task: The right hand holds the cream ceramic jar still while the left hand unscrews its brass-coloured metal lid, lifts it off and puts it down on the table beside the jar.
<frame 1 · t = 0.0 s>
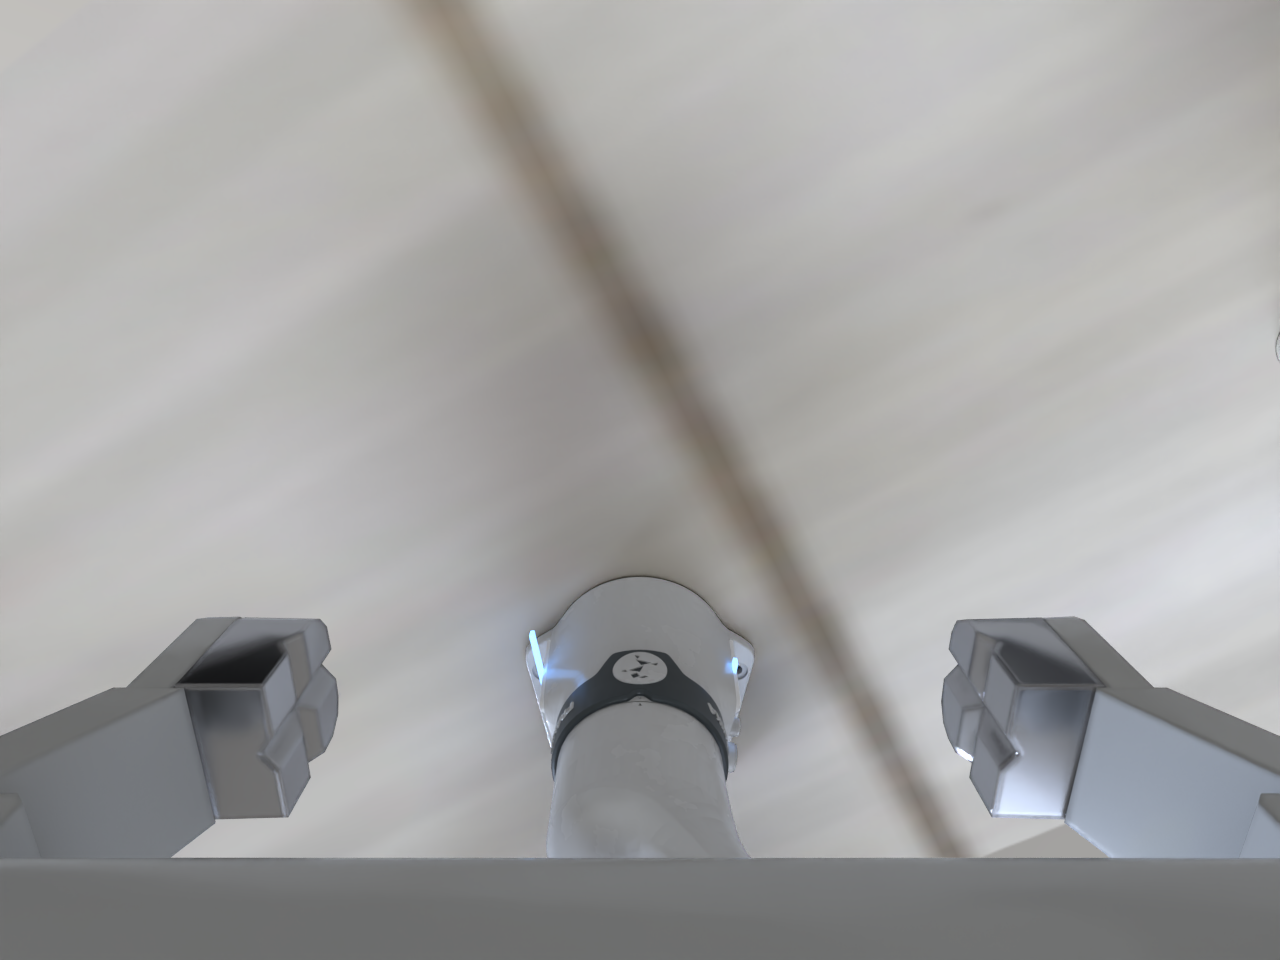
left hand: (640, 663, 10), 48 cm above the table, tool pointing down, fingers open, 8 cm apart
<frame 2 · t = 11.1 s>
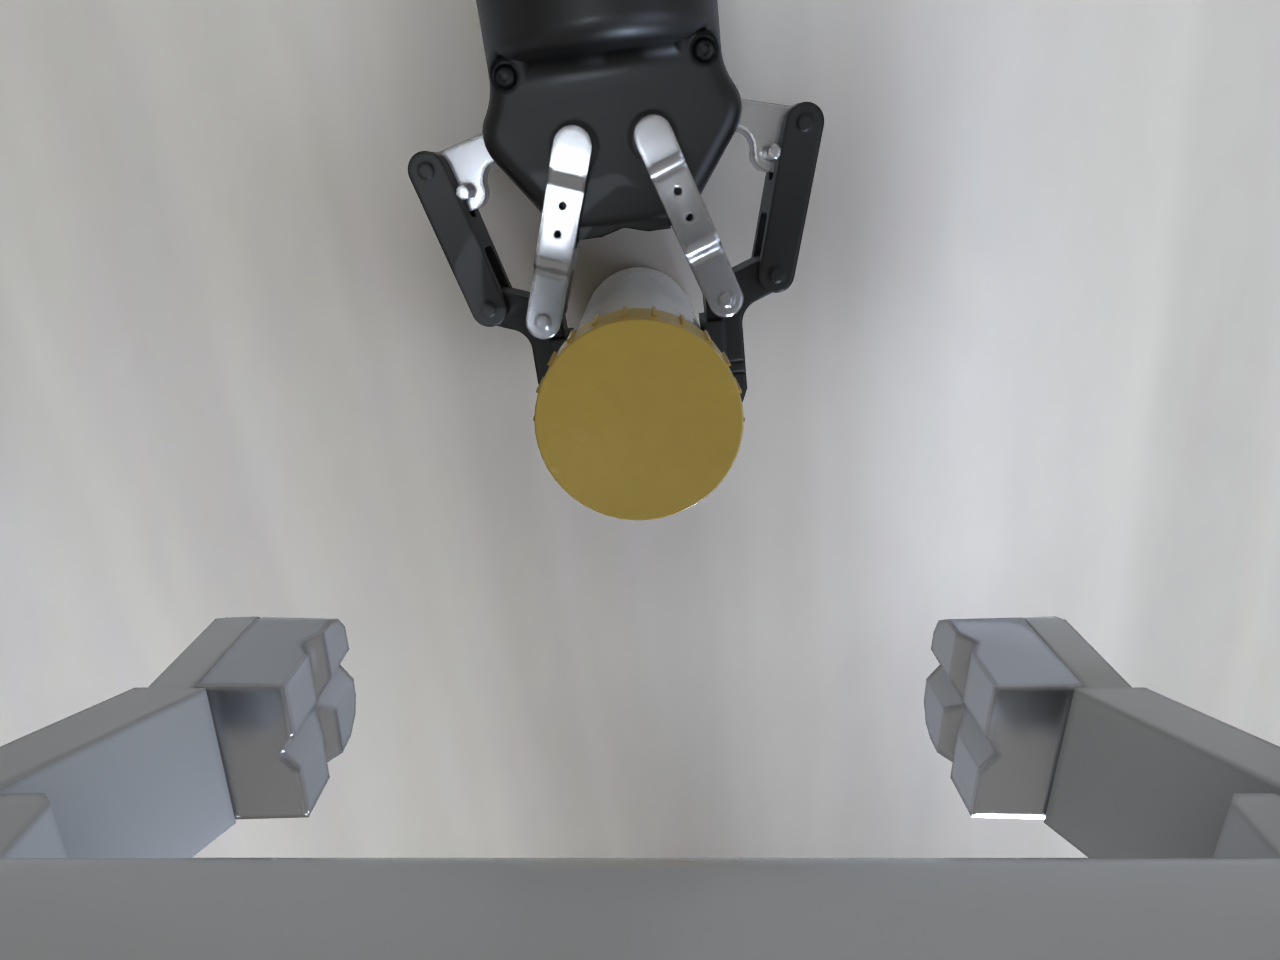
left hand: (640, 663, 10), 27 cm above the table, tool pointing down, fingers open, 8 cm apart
right hand: (648, 420, 30), fingers closed on jar, 4 cm apart
jar: (639, 321, 35), on the table, touching right hand
lid: (639, 420, 21), point 16 cm above the table, screwed on, not yet turned
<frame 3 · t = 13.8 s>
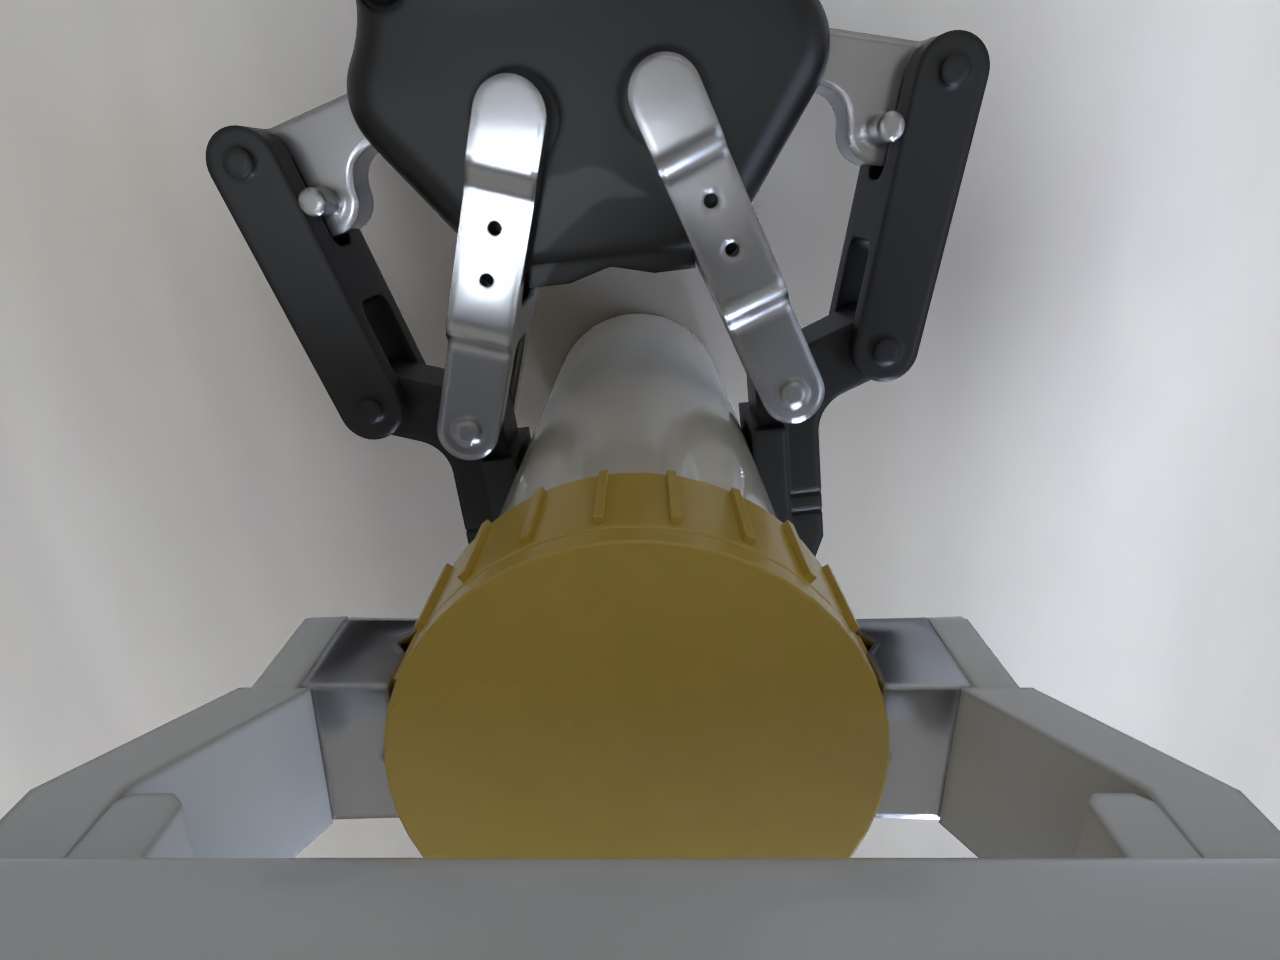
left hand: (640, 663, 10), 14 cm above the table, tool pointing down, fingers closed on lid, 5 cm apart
right hand: (653, 580, 18), fingers closed on jar, 4 cm apart
jar: (638, 394, 23), on the table, touching right hand
lid: (636, 748, 9), point 16 cm above the table, screwed on, not yet turned, touching left hand
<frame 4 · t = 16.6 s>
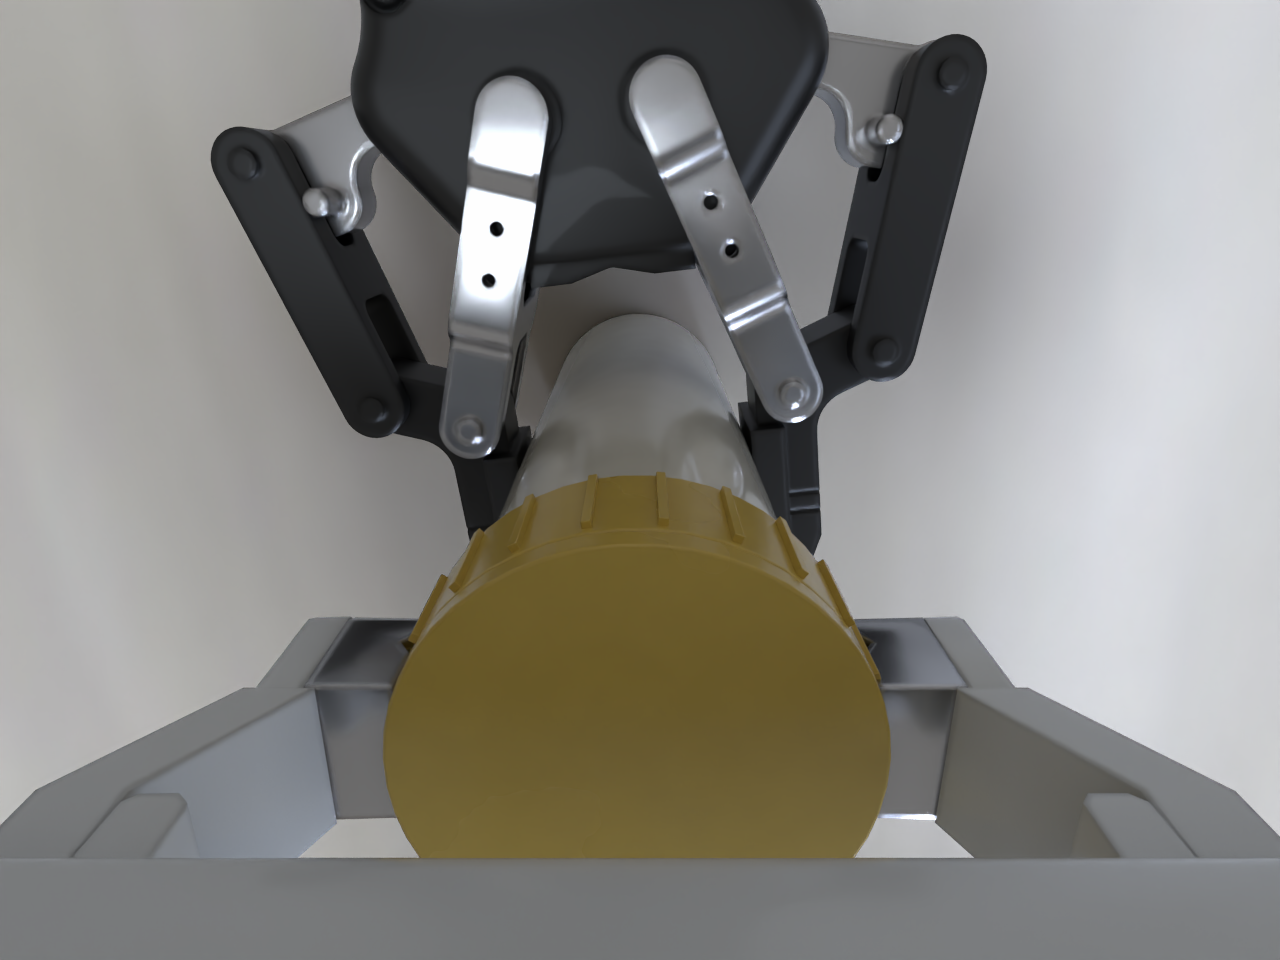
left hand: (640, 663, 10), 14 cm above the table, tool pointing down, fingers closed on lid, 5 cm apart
right hand: (653, 579, 18), fingers closed on jar, 4 cm apart
jar: (638, 394, 24), on the table, touching right hand
lid: (636, 752, 9), point 16 cm above the table, turned 52° so far, risen 0.2 cm, still on its thread, touching left hand
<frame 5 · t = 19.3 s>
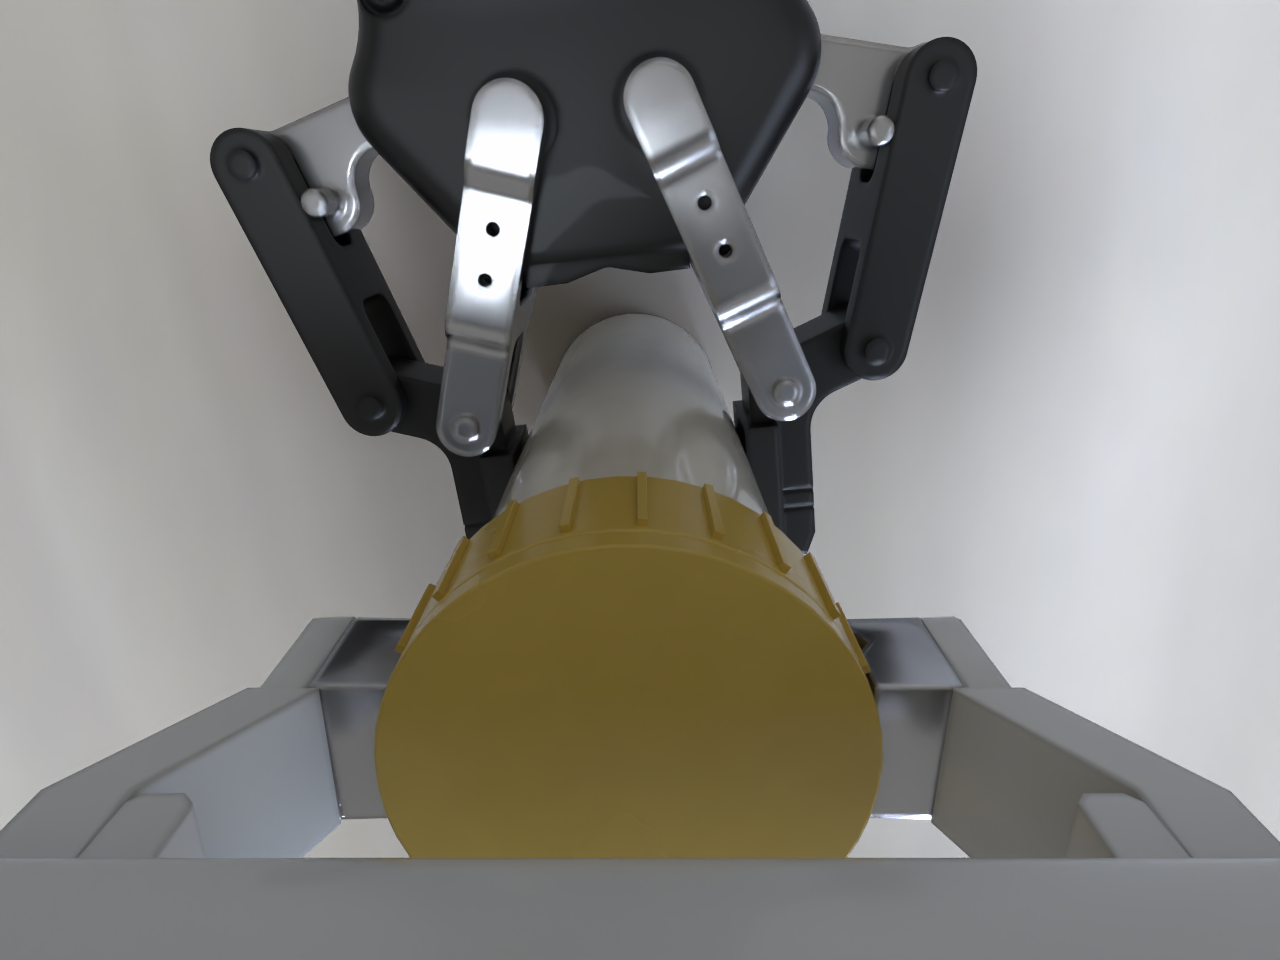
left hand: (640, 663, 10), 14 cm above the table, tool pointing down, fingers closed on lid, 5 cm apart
right hand: (648, 576, 18), fingers closed on jar, 4 cm apart
jar: (635, 393, 24), on the table, touching right hand
lid: (628, 753, 9), point 16 cm above the table, turned 104° so far, risen 0.3 cm, still on its thread, touching left hand
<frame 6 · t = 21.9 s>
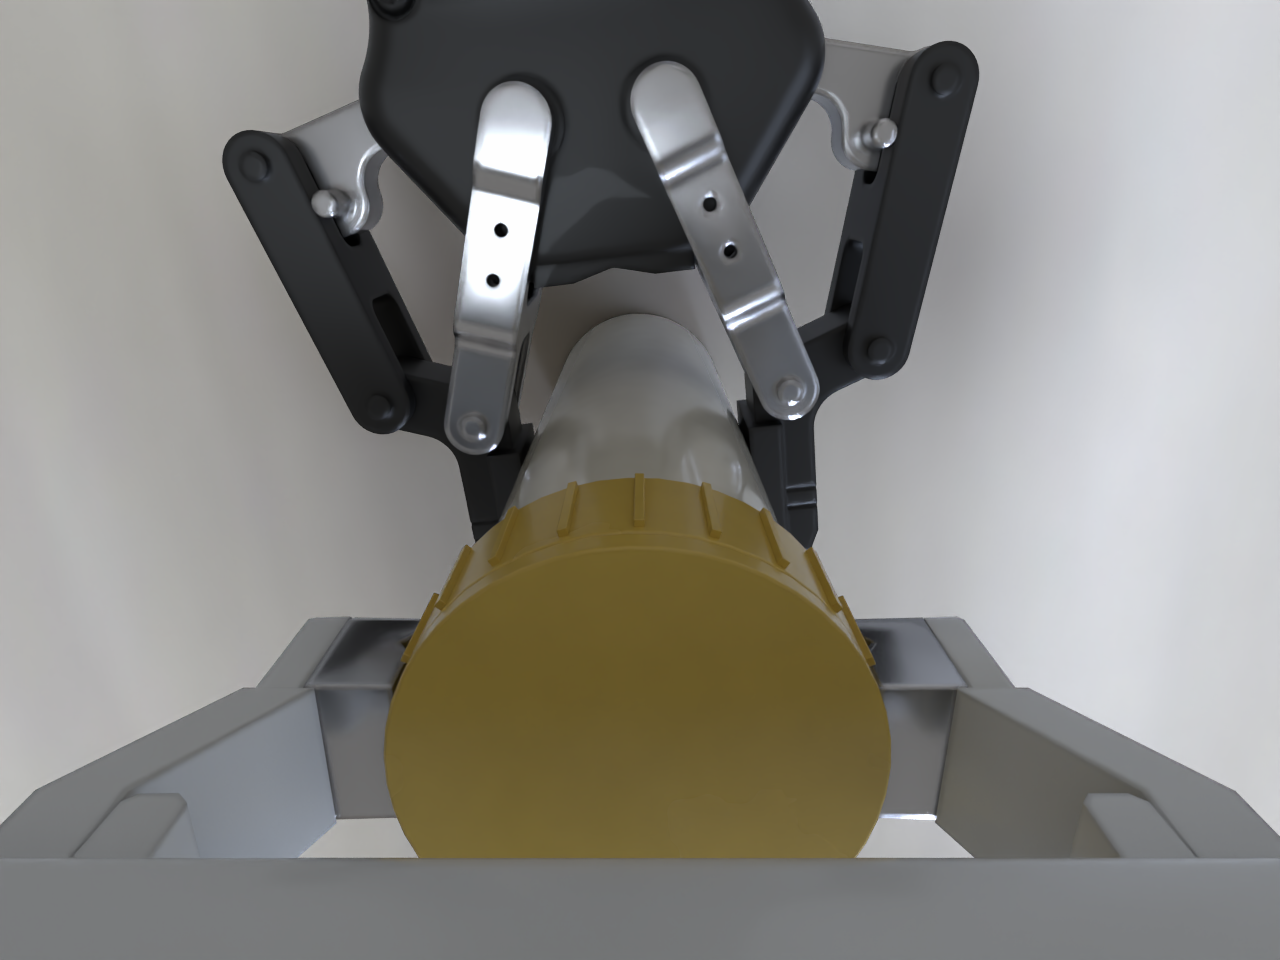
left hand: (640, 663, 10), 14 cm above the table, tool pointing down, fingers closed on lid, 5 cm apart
right hand: (653, 573, 19), fingers closed on jar, 4 cm apart
jar: (639, 393, 24), on the table, touching right hand
lid: (637, 754, 9), point 16 cm above the table, turned 155° so far, risen 0.5 cm, still on its thread, touching left hand
when the left hand's fingers open (2 cm above the table, at t = 27.6 s): lid drops 2 cm, point 2 cm above the table.
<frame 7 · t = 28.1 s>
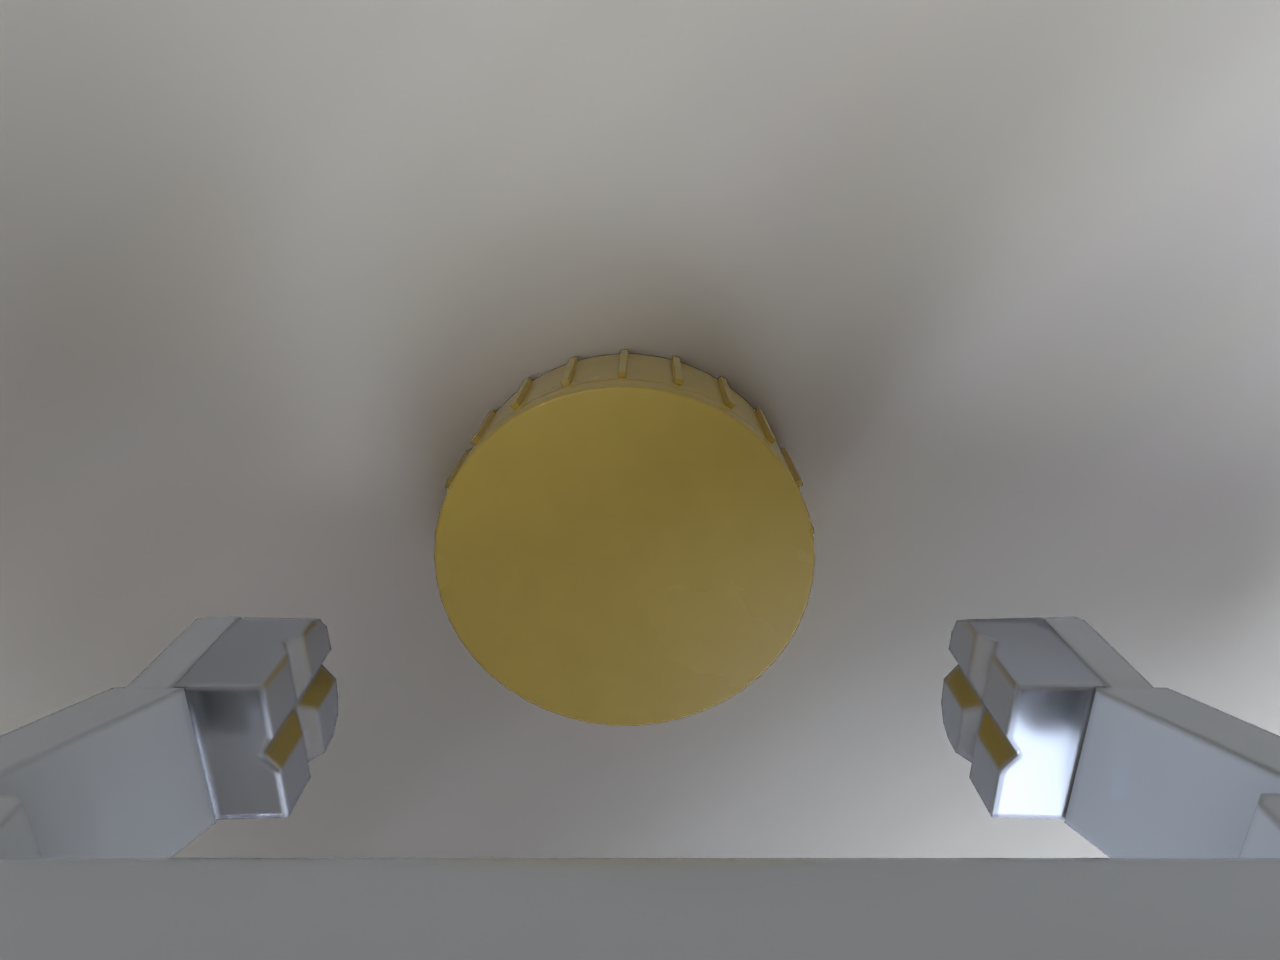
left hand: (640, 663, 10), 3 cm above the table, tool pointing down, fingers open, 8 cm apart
lid: (624, 559, 12), point 2 cm above the table, off its thread
when the right hand's fingers open (7 cm above the table, at t = 28.6 s): jar stays where it is, on the table.
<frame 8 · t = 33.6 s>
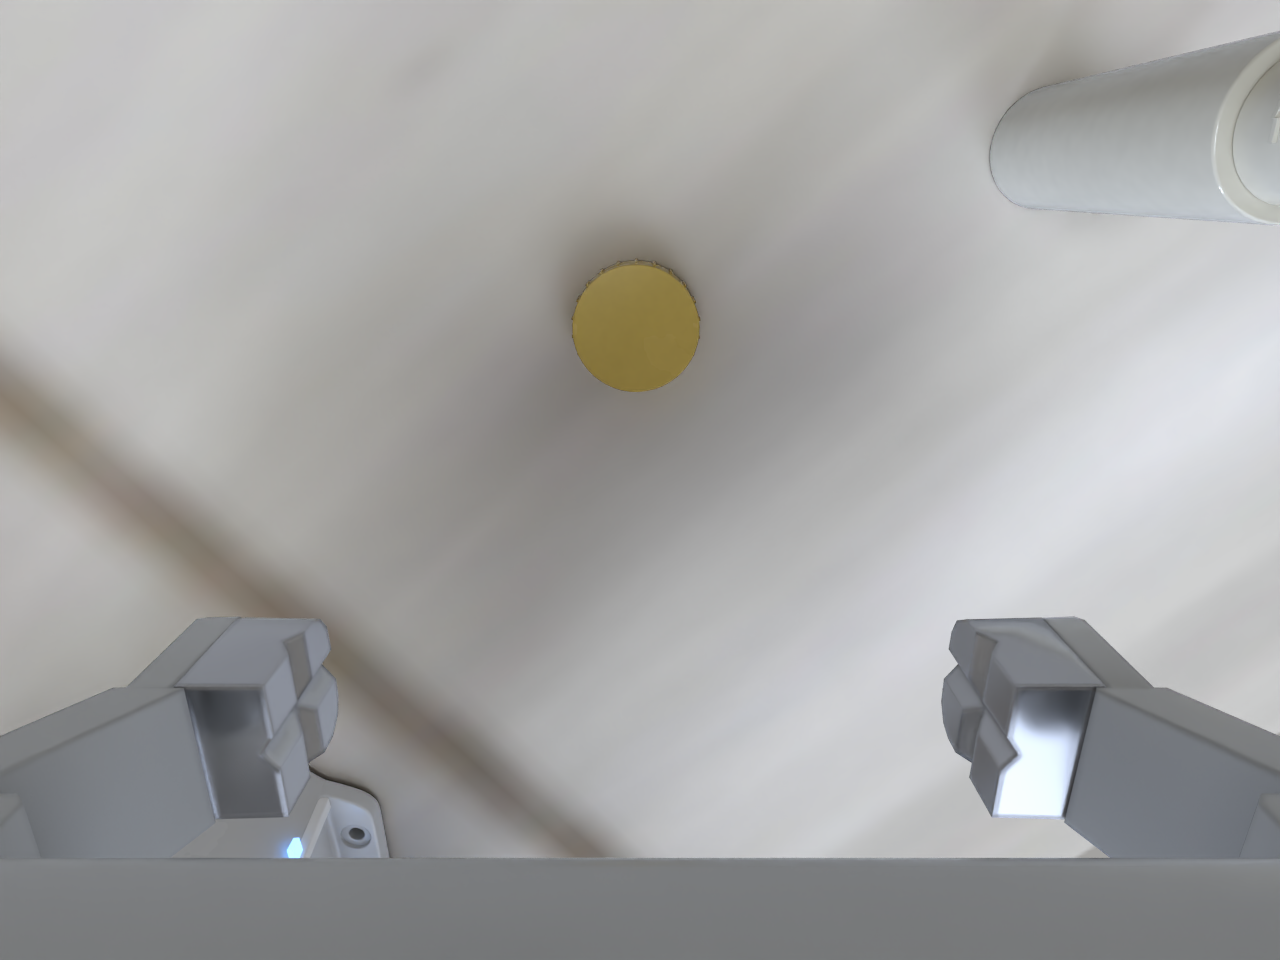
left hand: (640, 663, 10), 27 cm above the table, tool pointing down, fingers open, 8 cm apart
jar: (1047, 148, 33), on the table
lid: (635, 328, 34), point 2 cm above the table, off its thread
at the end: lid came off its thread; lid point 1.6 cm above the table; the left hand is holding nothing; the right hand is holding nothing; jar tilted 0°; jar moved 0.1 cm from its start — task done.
